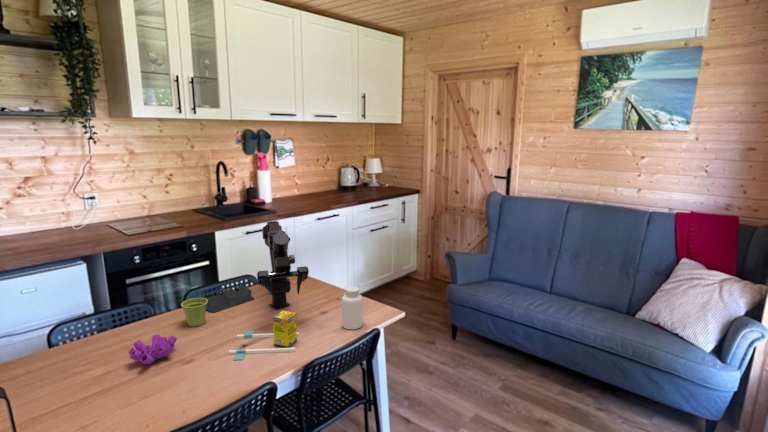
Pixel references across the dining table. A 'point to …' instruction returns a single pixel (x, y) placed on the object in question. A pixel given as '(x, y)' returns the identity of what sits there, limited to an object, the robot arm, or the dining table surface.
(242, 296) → the dark slate chunk
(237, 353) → the channel
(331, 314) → the dining table surface
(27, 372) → the dining table surface
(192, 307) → the plant pot
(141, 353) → the purple coral
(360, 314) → the pill bottle
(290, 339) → the supplement box
